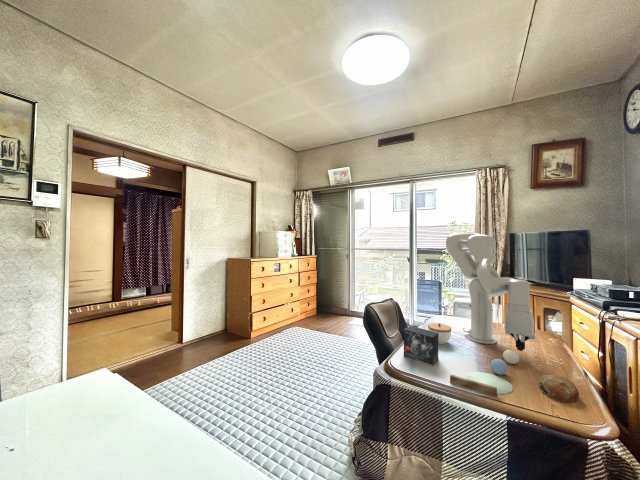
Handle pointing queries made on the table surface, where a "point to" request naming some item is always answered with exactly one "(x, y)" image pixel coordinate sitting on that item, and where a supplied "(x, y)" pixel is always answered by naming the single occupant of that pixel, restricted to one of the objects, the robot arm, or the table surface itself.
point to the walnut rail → (473, 385)
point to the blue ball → (499, 366)
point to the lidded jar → (441, 332)
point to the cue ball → (511, 356)
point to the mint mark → (491, 381)
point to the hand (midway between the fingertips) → (520, 349)
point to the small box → (421, 344)
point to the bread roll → (558, 388)
